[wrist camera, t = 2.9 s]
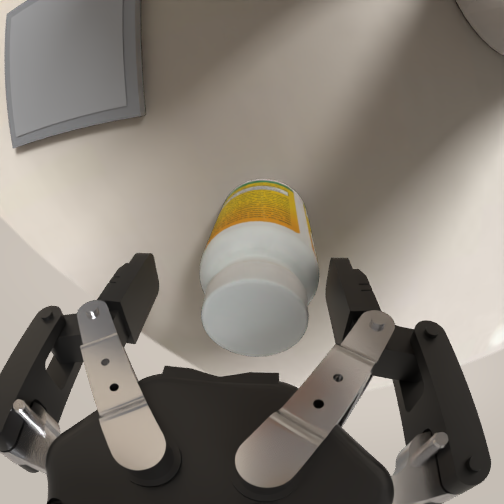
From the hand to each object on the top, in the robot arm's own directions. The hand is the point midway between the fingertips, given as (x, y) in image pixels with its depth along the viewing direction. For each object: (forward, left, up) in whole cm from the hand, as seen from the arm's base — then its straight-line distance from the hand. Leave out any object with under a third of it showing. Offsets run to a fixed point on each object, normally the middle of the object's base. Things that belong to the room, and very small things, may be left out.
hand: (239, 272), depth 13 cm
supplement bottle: (-1, 0, -7) cm, 7 cm away
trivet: (+12, -13, -7) cm, 19 cm away
